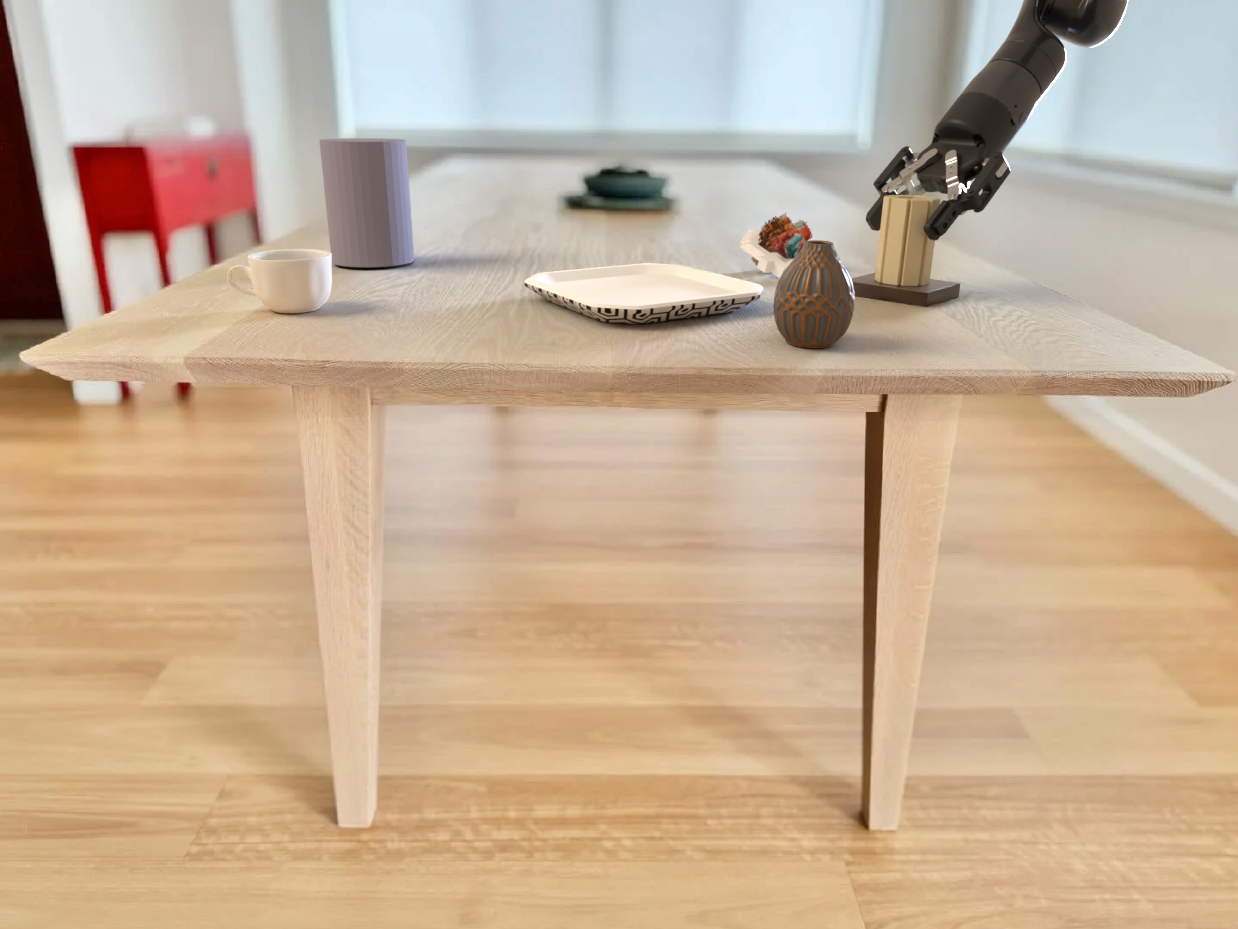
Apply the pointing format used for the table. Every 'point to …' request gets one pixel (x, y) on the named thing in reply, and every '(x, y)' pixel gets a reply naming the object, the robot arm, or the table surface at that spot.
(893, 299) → the peg stand
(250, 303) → the table surface
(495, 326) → the table surface
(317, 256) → the teacup
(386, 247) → the container
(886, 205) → the fluted hollow cylinder
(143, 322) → the table surface
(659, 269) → the plate
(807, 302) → the vase
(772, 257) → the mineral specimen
